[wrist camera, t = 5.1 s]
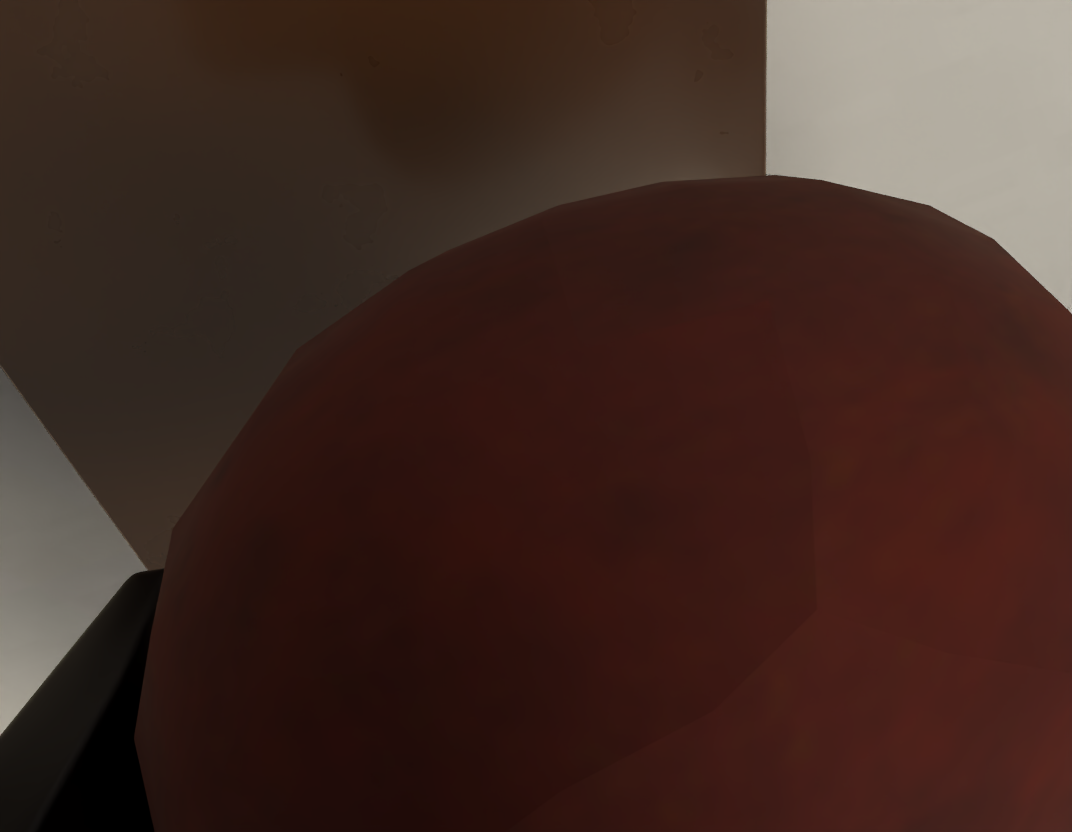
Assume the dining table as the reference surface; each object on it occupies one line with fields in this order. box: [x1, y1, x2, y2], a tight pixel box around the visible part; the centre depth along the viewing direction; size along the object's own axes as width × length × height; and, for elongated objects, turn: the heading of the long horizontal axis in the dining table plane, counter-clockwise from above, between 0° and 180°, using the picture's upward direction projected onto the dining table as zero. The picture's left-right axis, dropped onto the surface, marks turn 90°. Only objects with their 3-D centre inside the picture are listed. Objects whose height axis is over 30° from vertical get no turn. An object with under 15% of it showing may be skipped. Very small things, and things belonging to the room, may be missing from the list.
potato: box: [134, 175, 1072, 832], centre depth 9 cm, size 7×10×6 cm
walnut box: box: [0, 0, 767, 571], centre depth 19 cm, size 20×13×4 cm, turn 9°
